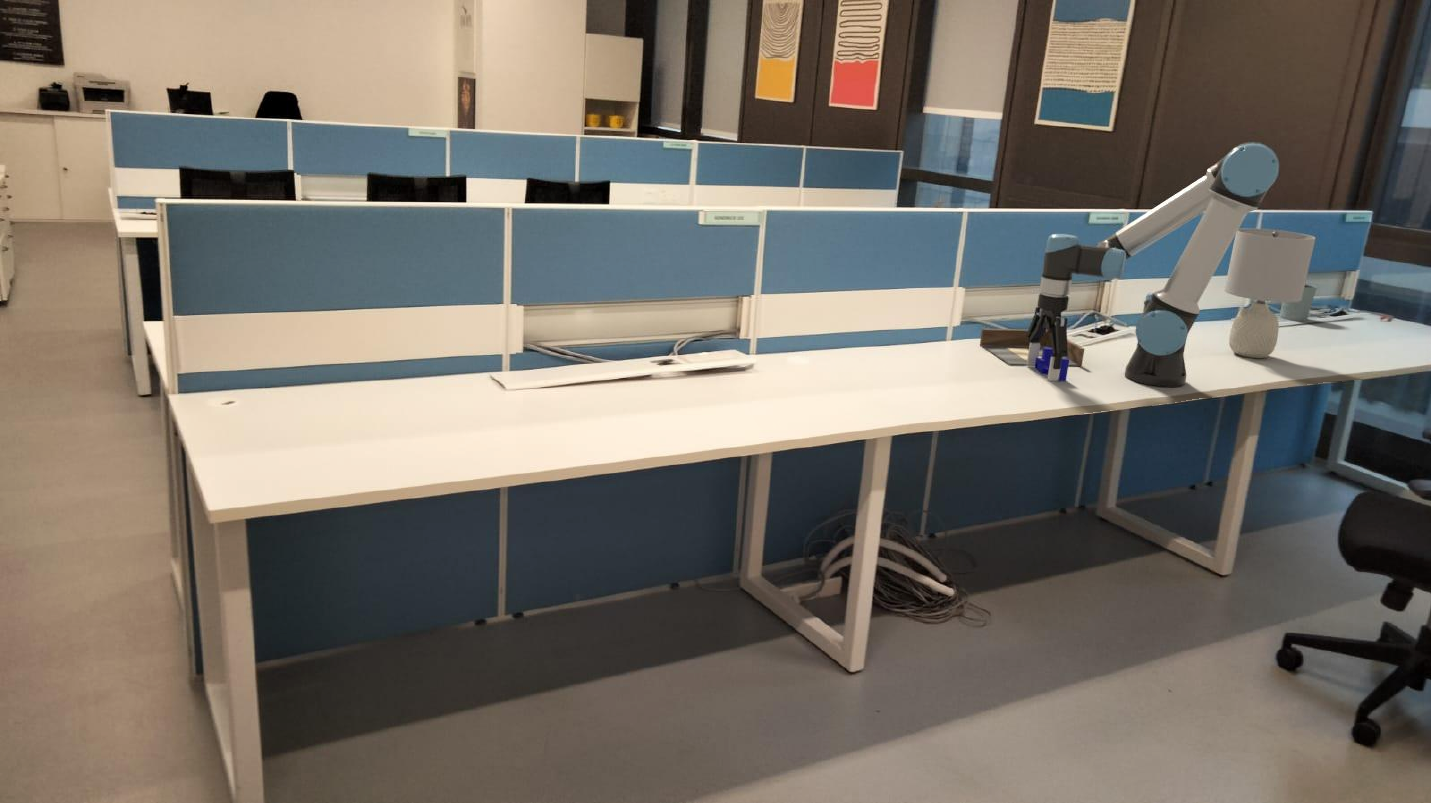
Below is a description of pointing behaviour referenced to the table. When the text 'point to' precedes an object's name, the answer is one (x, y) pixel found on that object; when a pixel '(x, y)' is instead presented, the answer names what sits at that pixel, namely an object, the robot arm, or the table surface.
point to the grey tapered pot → (1299, 305)
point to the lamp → (1265, 284)
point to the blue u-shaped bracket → (1044, 364)
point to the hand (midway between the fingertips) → (1042, 373)
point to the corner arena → (1022, 346)
